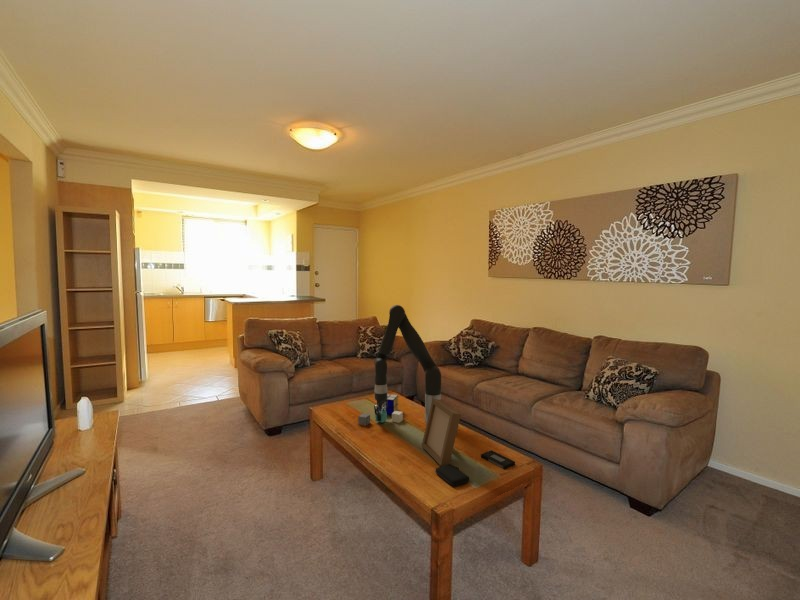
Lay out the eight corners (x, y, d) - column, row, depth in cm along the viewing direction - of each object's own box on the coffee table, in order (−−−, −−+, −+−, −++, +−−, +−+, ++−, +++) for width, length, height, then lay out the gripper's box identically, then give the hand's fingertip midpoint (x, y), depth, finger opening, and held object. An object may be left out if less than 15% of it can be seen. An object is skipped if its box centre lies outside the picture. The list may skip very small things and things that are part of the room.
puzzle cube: (378, 414, 248) (378, 398, 248) (383, 408, 258) (383, 393, 257) (393, 415, 245) (393, 399, 245) (398, 410, 255) (398, 395, 254)
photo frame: (440, 467, 181) (441, 414, 179) (421, 447, 201) (422, 399, 199) (469, 462, 186) (470, 410, 184) (447, 443, 206) (448, 396, 204)
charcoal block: (369, 422, 234) (369, 414, 234) (365, 425, 229) (365, 417, 229) (362, 421, 236) (362, 413, 236) (358, 424, 231) (358, 416, 231)
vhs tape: (504, 470, 179) (504, 466, 179) (480, 458, 191) (480, 454, 191) (514, 465, 184) (515, 461, 184) (491, 454, 195) (491, 450, 195)
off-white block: (402, 420, 238) (402, 411, 238) (399, 422, 234) (399, 414, 234) (395, 418, 241) (395, 410, 240) (391, 421, 236) (391, 413, 236)
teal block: (386, 419, 236) (386, 411, 236) (383, 422, 231) (383, 414, 231) (379, 418, 238) (379, 410, 238) (375, 421, 233) (375, 412, 233)
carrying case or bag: (473, 482, 169) (452, 467, 182) (473, 476, 168) (452, 461, 181) (453, 489, 164) (433, 473, 176) (453, 482, 163) (433, 466, 176)
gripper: (381, 395, 225) (381, 424, 227) (391, 388, 238) (392, 416, 240) (369, 394, 228) (370, 422, 230) (380, 387, 241) (380, 414, 243)
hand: (381, 419), depth 235 cm, fingers closed on teal block, 5 cm apart
